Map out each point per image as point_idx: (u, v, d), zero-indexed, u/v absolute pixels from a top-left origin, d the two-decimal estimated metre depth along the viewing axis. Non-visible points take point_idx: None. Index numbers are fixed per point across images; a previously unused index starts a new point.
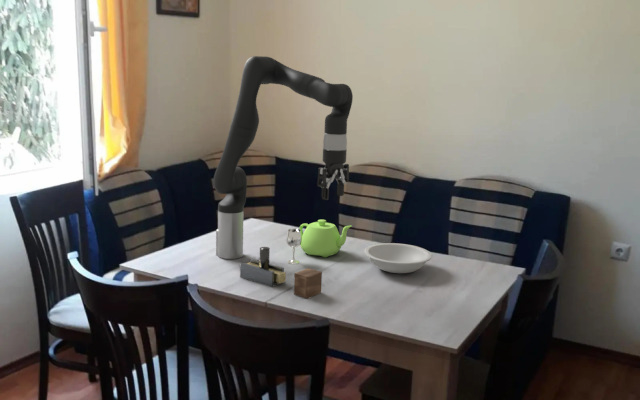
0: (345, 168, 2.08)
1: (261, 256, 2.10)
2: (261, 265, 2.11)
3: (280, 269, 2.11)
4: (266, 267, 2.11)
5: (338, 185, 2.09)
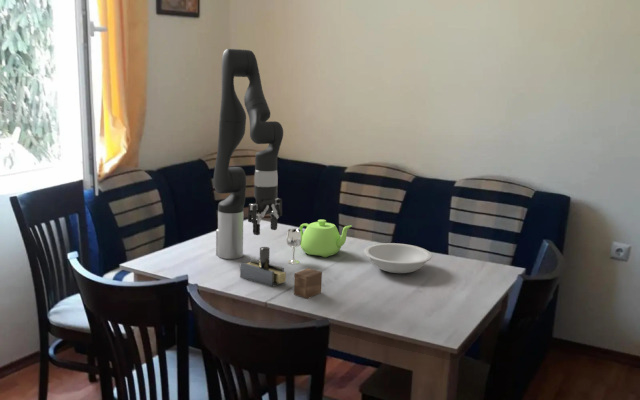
0: (278, 203, 2.12)
1: (261, 256, 2.10)
2: (261, 265, 2.11)
3: (280, 269, 2.11)
4: (266, 267, 2.11)
5: (271, 219, 2.12)
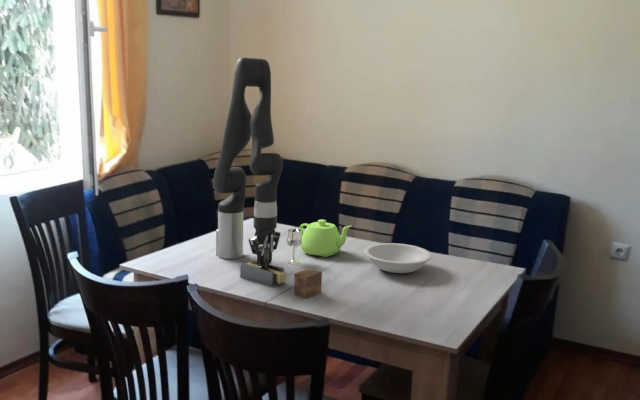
0: (276, 235, 2.13)
1: None
2: None
3: (280, 269, 2.11)
4: (266, 267, 2.11)
5: None
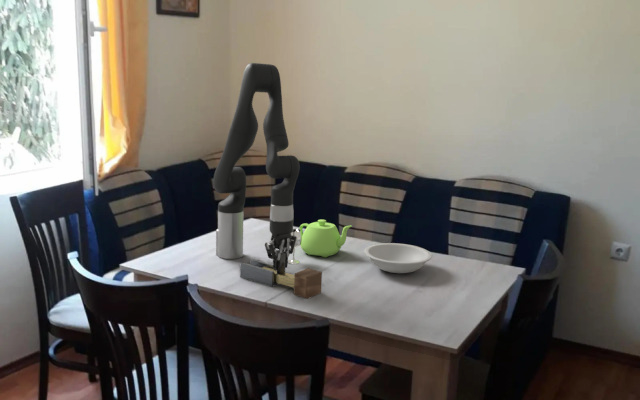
0: (292, 239, 2.10)
1: None
2: None
3: None
4: (282, 272, 2.07)
5: None
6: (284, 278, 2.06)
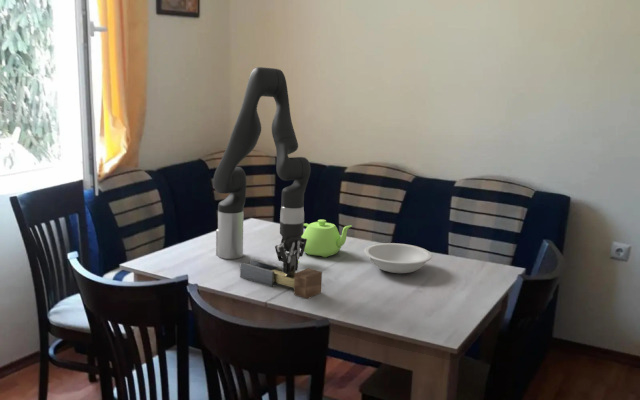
0: (302, 242, 2.07)
1: None
2: None
3: (280, 269, 2.11)
4: (292, 275, 2.05)
5: None
6: None
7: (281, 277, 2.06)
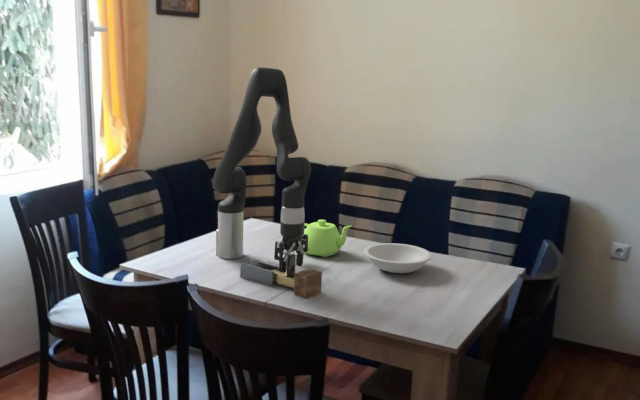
0: (304, 239, 2.07)
1: (287, 264, 2.04)
2: (287, 272, 2.04)
3: None
4: (292, 274, 2.05)
5: (297, 255, 2.08)
6: None
7: (280, 277, 2.06)
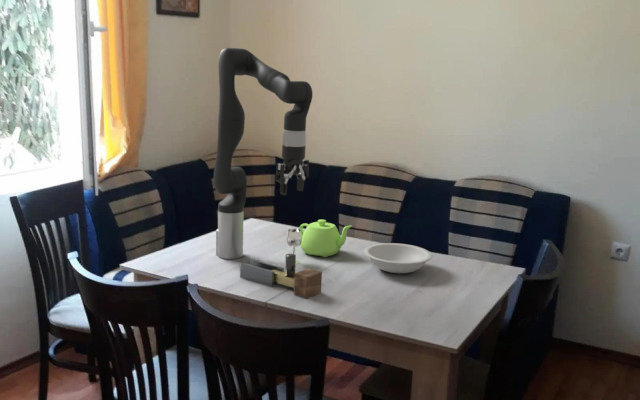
0: (305, 164, 2.12)
1: (287, 264, 2.04)
2: (287, 272, 2.04)
3: (280, 269, 2.11)
4: (292, 274, 2.05)
5: (298, 180, 2.13)
6: None
7: (280, 277, 2.06)
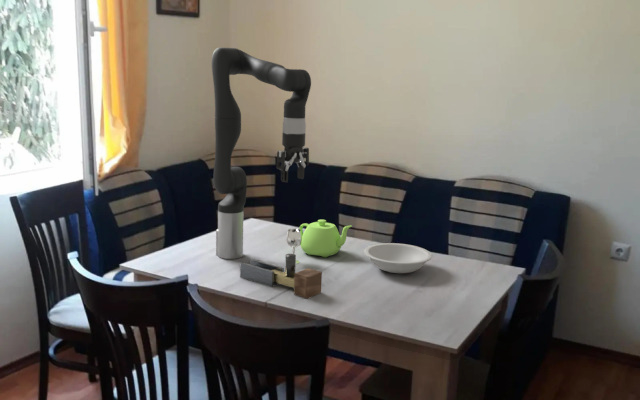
0: (305, 152, 2.14)
1: (287, 264, 2.04)
2: (287, 272, 2.04)
3: (280, 269, 2.11)
4: (292, 274, 2.05)
5: (298, 168, 2.15)
6: None
7: (280, 277, 2.06)
